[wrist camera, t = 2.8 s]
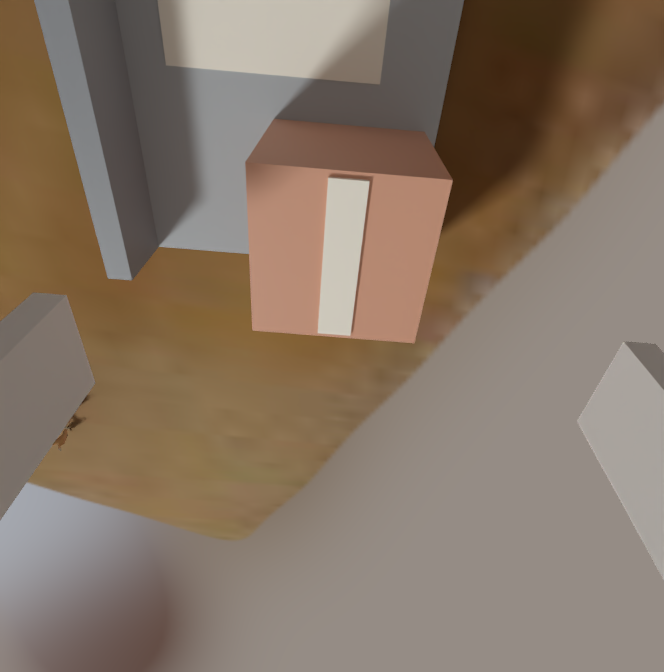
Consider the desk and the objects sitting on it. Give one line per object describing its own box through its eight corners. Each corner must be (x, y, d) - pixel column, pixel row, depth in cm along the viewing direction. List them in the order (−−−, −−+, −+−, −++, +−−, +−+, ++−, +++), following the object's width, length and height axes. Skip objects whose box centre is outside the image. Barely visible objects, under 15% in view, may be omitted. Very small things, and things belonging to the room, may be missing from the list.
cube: (273, 118, 17) (244, 163, 13) (424, 131, 18) (453, 181, 13) (274, 258, 21) (252, 335, 16) (399, 268, 21) (414, 347, 16)
